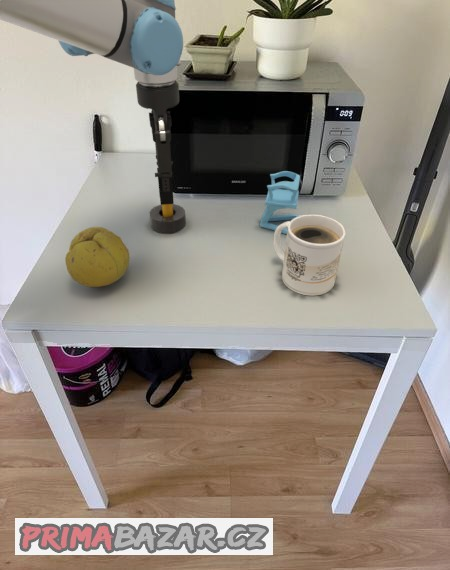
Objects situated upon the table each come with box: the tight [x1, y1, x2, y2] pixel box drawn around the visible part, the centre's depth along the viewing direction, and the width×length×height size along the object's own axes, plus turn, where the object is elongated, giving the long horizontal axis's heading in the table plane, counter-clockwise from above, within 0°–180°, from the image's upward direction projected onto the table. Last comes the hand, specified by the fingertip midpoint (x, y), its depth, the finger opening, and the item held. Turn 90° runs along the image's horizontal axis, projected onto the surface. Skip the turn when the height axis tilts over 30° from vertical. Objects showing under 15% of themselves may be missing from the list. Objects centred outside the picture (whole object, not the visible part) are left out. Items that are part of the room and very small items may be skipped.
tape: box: [149, 203, 187, 235], centre depth 96 cm, size 8×8×3 cm
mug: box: [272, 214, 346, 297], centre depth 80 cm, size 10×12×11 cm
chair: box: [259, 170, 301, 235], centre depth 93 cm, size 8×8×12 cm
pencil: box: [162, 204, 173, 217], centre depth 92 cm, size 2×2×15 cm
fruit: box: [64, 226, 130, 288], centre depth 78 cm, size 11×12×10 cm
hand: (166, 199), depth 93 cm, fingers closed on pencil, 2 cm apart
